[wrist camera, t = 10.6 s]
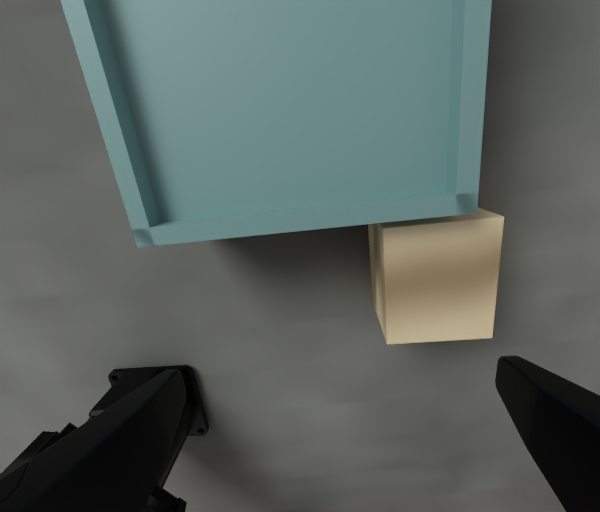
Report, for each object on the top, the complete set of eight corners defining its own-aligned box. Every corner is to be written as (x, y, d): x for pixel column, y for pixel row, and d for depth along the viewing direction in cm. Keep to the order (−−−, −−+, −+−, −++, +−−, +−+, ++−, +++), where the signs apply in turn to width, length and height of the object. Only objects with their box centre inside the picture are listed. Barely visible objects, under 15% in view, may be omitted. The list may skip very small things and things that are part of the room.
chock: (450, 292, 19) (492, 338, 15) (371, 298, 20) (386, 344, 15) (455, 198, 17) (504, 216, 13) (367, 208, 18) (382, 228, 13)
